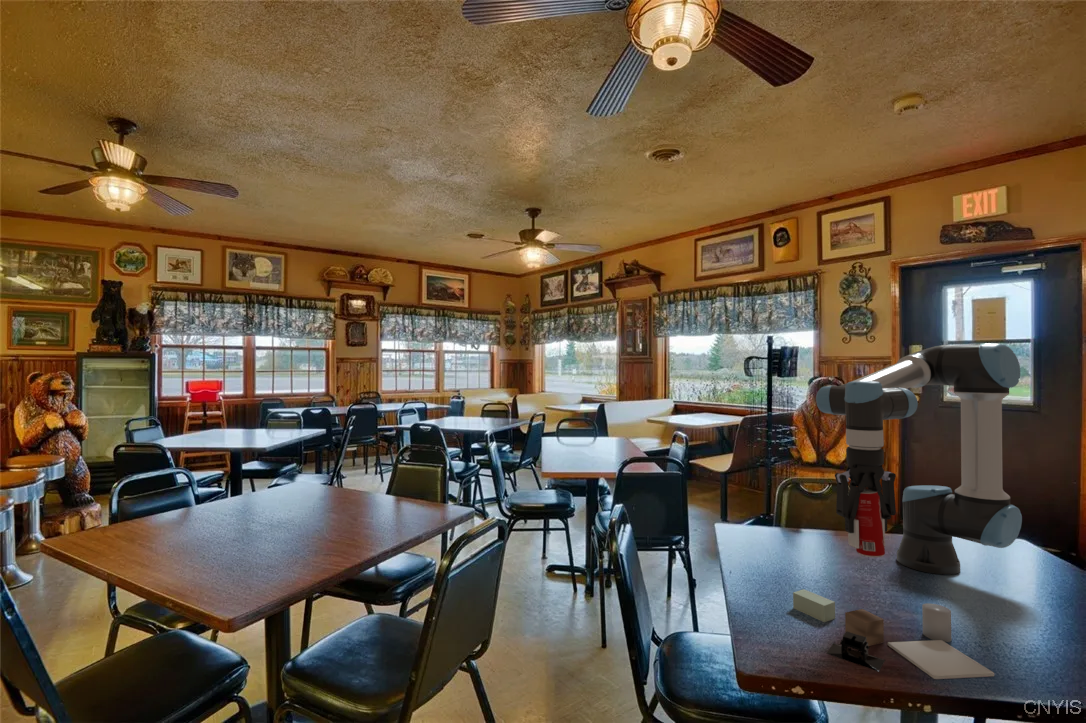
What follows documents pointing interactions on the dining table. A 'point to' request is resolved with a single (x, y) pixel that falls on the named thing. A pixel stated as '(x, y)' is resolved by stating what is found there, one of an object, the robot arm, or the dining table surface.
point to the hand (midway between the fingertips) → (866, 545)
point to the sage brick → (814, 605)
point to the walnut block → (865, 625)
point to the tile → (940, 659)
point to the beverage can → (870, 525)
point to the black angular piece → (853, 655)
